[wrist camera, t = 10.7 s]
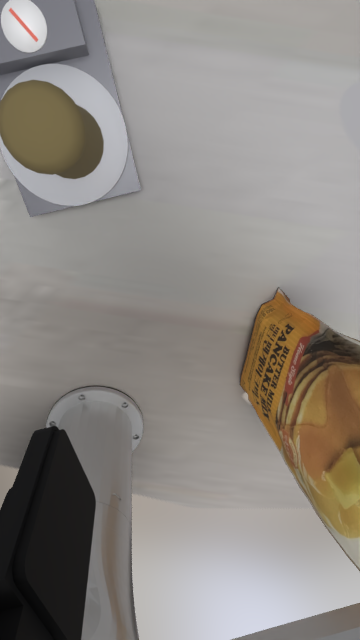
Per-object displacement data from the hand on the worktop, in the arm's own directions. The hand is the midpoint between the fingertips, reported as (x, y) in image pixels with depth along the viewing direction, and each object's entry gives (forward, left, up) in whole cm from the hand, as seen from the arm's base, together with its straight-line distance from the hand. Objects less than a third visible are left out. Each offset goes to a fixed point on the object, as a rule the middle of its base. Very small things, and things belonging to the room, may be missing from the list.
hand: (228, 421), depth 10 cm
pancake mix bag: (-17, -11, -31) cm, 37 cm away
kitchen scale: (+13, +6, -30) cm, 34 cm away
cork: (+11, +6, -27) cm, 30 cm away
